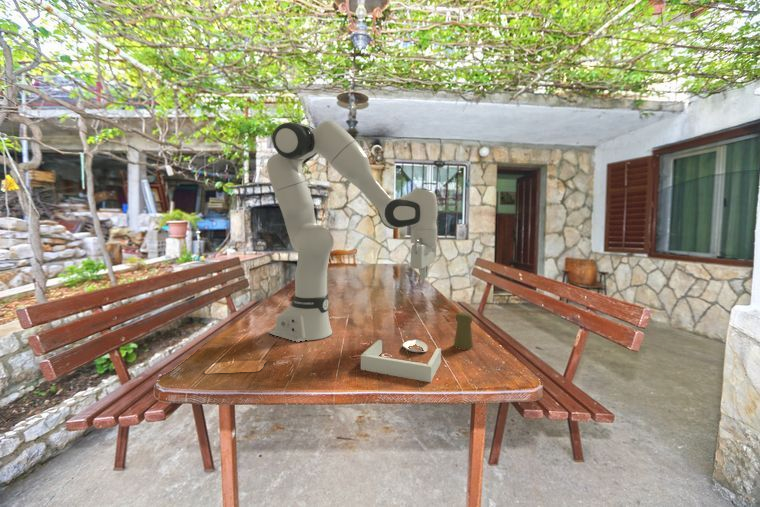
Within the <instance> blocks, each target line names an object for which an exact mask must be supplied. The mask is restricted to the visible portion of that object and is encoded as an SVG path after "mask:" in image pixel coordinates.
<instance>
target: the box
mask: <svg viewBox="0 0 760 507" xmlns="http://www.w3.org/2000/svg"><path fill="white" fill-rule="evenodd" d="M381 353H383V340H381V339H378V340H376V341H375V342H374V343H373V344H372V345H371V346H369V347H368V348H367V349H366V350H365V351H364V352H363V353H362V354H360V370H361V371H365V370H366V371H367V372H371V373H376V372H377V373H376V374H382V375H387V374H388V375H387V376H393V377H399V378H404V379H410V380H414V381H415V380H416V381H421V382H426V383H427V382H428V383H432V381H433V379H434V377H435V374H436V373H437V371H438V369H439V367H440V365H441V363H442V348H438V347H436V349H435V351H434V352H433V354H432V356H431V358H430V359H429V360H428V362H427V363H423V362H417V361H409V360H404V359H397V358H392V357H386V356H379V355H380V354H381ZM381 355H382V354H381Z"/></svg>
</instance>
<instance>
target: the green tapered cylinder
mask: <svg viewBox="0 0 760 507" xmlns="http://www.w3.org/2000/svg"><path fill="white" fill-rule="evenodd" d="M455 321H456V329H455V330H456V331H455V336H454V343H453V347H454V346H455V347H457V348H456V349H458V348H460V349H459V350H461V349H470V350H472V349H473V348H474V343H473V333H472V326H471V325H472V322H473V315H472V313H470V312H466V311H460V312H457V313H456V316H455ZM455 347H454V348H455ZM472 347H473V348H472ZM471 348H472V349H471Z"/></svg>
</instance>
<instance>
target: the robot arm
mask: <svg viewBox="0 0 760 507" xmlns="http://www.w3.org/2000/svg"><path fill="white" fill-rule="evenodd" d="M272 145H273V147H274V150H275V151H276V152H277V153H275V154H273V155H271V156H270V157H269V158H268V159H267V161H266V168H267V174H268V178H269V182H270V184H271V187H272V190H273V192H274V195H275V198H276V201H277V204H278V206H279V209H280V210H281V211H280V212H281V214H282V217H283V221H284V224H285V228H286V232H287V234H288V238H289V241H290V242H289V243H290V245H291V247H292V248H293V250H294V251H295V252H297V261H296V262H297V263H296V269H295V273H294V279H295V280H294V283H295V284H294V290H295V294H294V295H293V296H291V297H288V299H289V300H288V301H289V302H291V303H290V306H288V307H287V308H286V309H285V310H284V311H282V312H281V313H280V314H279V315H278V316H277V317H276V321H275V326H274V327H272V328H271V329H270V330H269V332H268V334H269V333H270V334H273V335H276V336H280V337H283V338H286V339H289V340H288V341H290V340H292V341H291V342H294V341H296V342H295V343H301V342H300V341H302V342H306V341H305V340H307V341H315V340H321V339H325V338H328V337H329V336H331V335H332V333H333V330H332V327H331V323H330V318H329V305H330V304H329V302H330V301H329V294H328V268H329V262H330V257H331V250H332V249H333V247H334V237H333V234H332V233H331V232H330V230H328V229H327V228H326V227H324V226H323V225H320V224H317V219H316V214H315V204H314V201H313V198H312V195H311V192H310V190H309V189H310V188H309V186H308V184H307V182H306V178H305V176H304V174H303V170H302V168H303V166H302V165H303V164H307V162H309V161H311V159H313V158H314V157H315V156H316V155H317V154H319V155H320V156H321V157H323V158H324V159H325V160H326V161H327V163H329V165H330V166H331V167H332V168H333V169H334V170H335V171H336V172H337V173H338V174H340V175H341V176H342V177H343V178H344V179H346V181H348V182H349V183H351V184H352V185H354V186H355V187H356V188H357V189H358V190H359V191H361V193H362V194H363V195H364V196H365V198H367V199H368V200H369V202H370V203H371V204H372V205H373V207H375V209H376V210H377V213H378V216H379V218H380V221H381V223H382V224H383V225H384V227H386V228H388V229H390V230H399V229H402V228H405V227H410V244H412V245H411V249H410V267H411V269H413V270H414V269H415V270H418V273H419V279H420V280H426V279H427V278H428V271H429V266H430V265H431V264H433V263H435V262H436V255H437V244H438V242H439V236H438V226H437V219H438V213H439V212H438V198H437V195H436V192H434V191H433V190H431V189H427V188H421V187H420V188H414V189H413V190H412V191H410V192H407V194H405V195H403V196H400V197H398V198H394V199H393V197H391V196H390V195H389V194H388V192H386V190H385V189H384V188H383V187H382V186H381V184H379V182H378V181H377V180H376V178H375V176H374V175H373V171H372V168H371V164H370V163H371V162H370V158H369V157H368V155H367V154H366V152H365V151H364V149H363V148H362V146H361V145H360V144H359V143H358V142H357V140H356V139H355V138H354V137H353V136H352V135H351V134H350V133H349V132H348V131H347V130H346V129H344V127H342V126H341V125H340V124H338V123H337V122H336V121H333V120H325V121H323V122H321V123H320V124H319V125H318V126H316V127H315V128H314V127H312V126H310V125H307V124H304V123H301V122H289V121H288V122H283V123H281V124H280V125H278V126H277V127H276V128H275V129H274V131H273V135H272ZM276 336H275V337H276ZM283 338H282V339H283ZM286 339H285V340H286Z"/></svg>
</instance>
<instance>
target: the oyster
mask: <svg viewBox="0 0 760 507" xmlns="http://www.w3.org/2000/svg"><path fill="white" fill-rule="evenodd" d="M415 344H416V345H417V346H420V347H422V348H423V350H424V351H422V350H420V349H416V347H412V348H411V349H409V348H408V347H409V346H413V345H415ZM402 346H403V347H404V348H405V349H406V350H407V351H409V352H412V353H425V352H427V351H428V349H429V346H428V345H427V344H426V343H425V342H424V341H422V340H420V339H417V338H415V339H413V340H412V339H411V340H407V341H405V342H404V343H402Z"/></svg>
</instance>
